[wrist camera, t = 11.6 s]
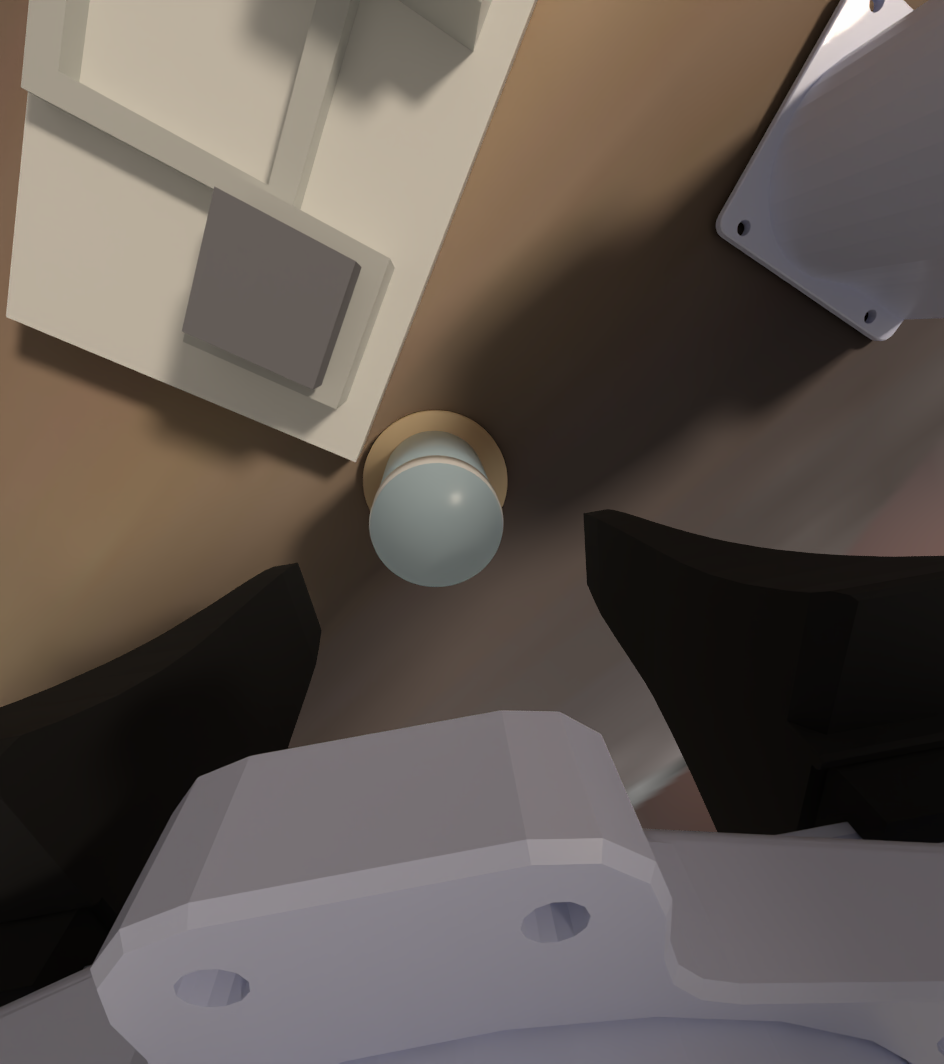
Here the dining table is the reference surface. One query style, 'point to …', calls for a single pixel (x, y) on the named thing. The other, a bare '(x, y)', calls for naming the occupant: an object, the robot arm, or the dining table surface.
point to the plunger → (268, 292)
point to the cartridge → (435, 512)
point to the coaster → (435, 422)
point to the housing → (248, 173)
